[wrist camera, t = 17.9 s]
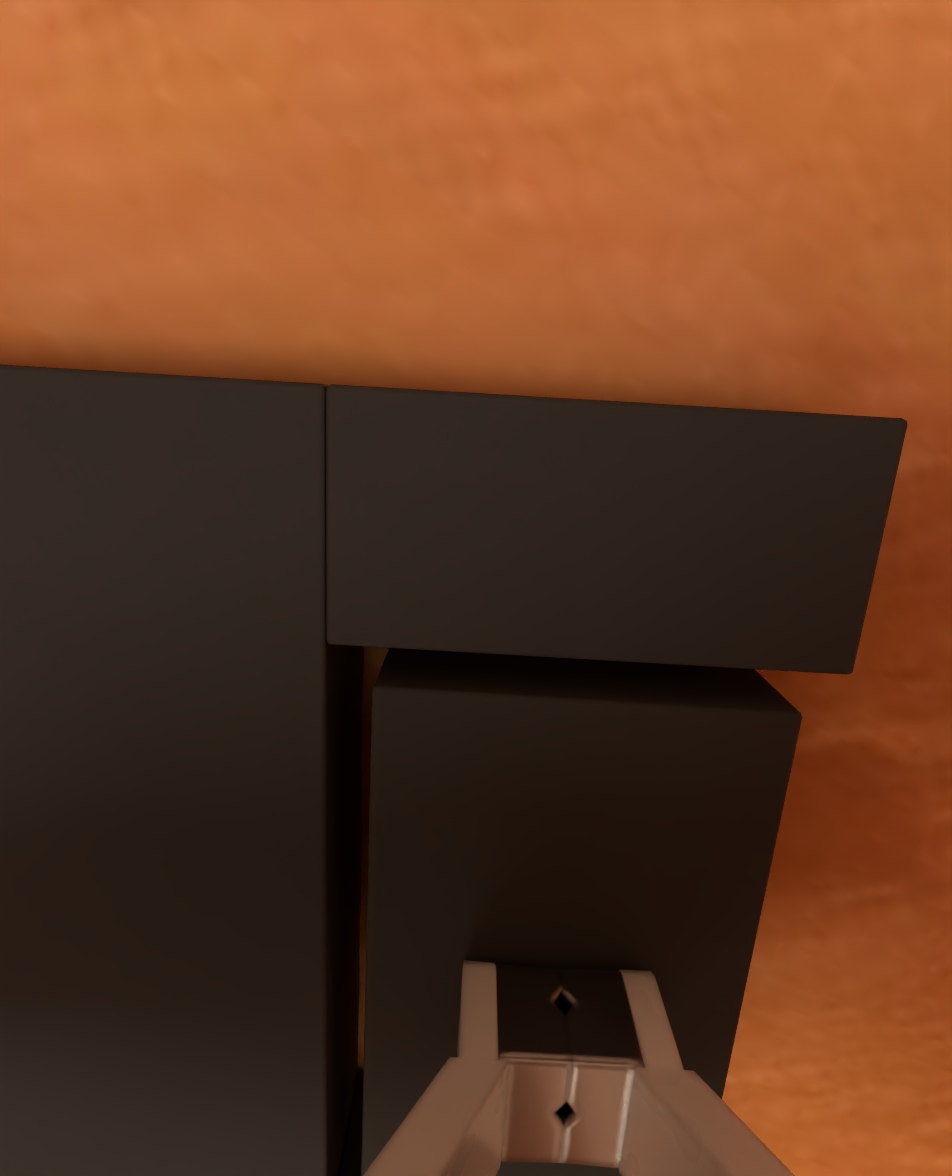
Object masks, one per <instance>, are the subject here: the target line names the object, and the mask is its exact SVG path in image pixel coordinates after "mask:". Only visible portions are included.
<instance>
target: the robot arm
mask: <svg viewBox="0 0 952 1176" xmlns="http://www.w3.org/2000/svg"><path fill="white" fill-rule="evenodd" d="M501 1162H541V1163H566V1164H577V1165H588V1166H599V1167H611V1168H619V1173H620V1174H621V1176H794V1175H793V1173H792V1172H791V1171H790V1170H789V1169H788V1168H787V1167H786V1166H785V1165H784V1164H783V1163H782V1162H781V1161H780V1160H779V1159H778V1158H777V1157H776V1156H775V1155H774V1154H773V1153H772V1152H771V1151H770V1149H769V1148H768V1147H767V1146H766V1145H765V1144H764V1143H763V1142H762V1141H761V1140H760V1139H759V1138H758V1137H757V1136H756V1135H755V1134H754V1133H753V1132H752V1131H751V1130H750V1129H749V1128H748V1127H747V1125H746V1124H745V1123H744V1122H743V1121H742V1120H741V1119H740V1118H739V1117H738V1116H737V1115H736V1114H735V1113H734V1112H733V1111H732V1110H731V1109H730V1108H729V1107H728V1106H727V1105H726V1104H725V1103H724V1101H723V1100H722V1099H721V1098H720V1097H719V1096H718V1095H717V1094H716V1093H715V1092H714V1091H713V1090H712V1089H711V1088H710V1087H709V1086H708V1085H707V1084H706V1083H705V1082H704V1081H703V1080H702V1079H701V1077H700V1076H699V1075H698V1074H697V1073H696V1072H695V1071H690V1070H684V1068H683V1065H682V1062H681V1059H680V1055H679V1052H678V1049H677V1046H676V1042H675V1039H674V1036H673V1033H672V1030H671V1026H670V1023H669V1020H668V1017H667V1014H666V1010H665V1007H664V1004H663V1001H662V998H661V994H660V991H659V988H658V985H657V981H656V978H655V976H654V975H653V973H652V972H651V971H641V970H619V971H618V970H616V969H594V968H572V967H547V966H535V965H523V964H511V963H499V962H496V965H495V963H489V962H478V961H467V960H464V963H463V972H462V987H461V1002H460V1018H459V1033H458V1048H457V1057H449V1059H448V1060H447V1061H446V1063H445V1064H444V1066H443V1067H442V1068H441V1070H440V1071H439V1072H438V1074H437V1075H436V1077H435V1078H434V1079H433V1081H432V1082H431V1083H430V1085H429V1086H428V1088H427V1089H426V1090H425V1092H424V1093H423V1094H422V1096H421V1097H420V1098H419V1100H418V1101H417V1103H416V1104H415V1105H414V1107H413V1108H412V1109H411V1111H410V1112H409V1114H408V1115H407V1116H406V1118H405V1119H404V1120H403V1122H402V1123H401V1125H400V1126H399V1127H398V1129H397V1130H396V1131H395V1133H394V1134H393V1136H392V1137H391V1138H390V1140H389V1141H388V1142H387V1144H386V1145H385V1147H384V1148H383V1149H382V1151H381V1152H380V1153H379V1155H378V1156H377V1157H376V1159H375V1160H374V1162H373V1163H372V1164H371V1166H370V1167H369V1168H368V1170H367V1171H366V1173H365V1174H364V1175H363V1176H496V1174H497V1172H498V1170H499V1168H500V1163H501Z"/></svg>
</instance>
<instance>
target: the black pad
mask: <svg viewBox="0 0 952 1176" xmlns="http://www.w3.org/2000/svg"><path fill="white" fill-rule="evenodd" d="M801 720H802V716H801V713H800V712H799V711H798V710H797V709H796V708H795V707H794V706H792V705H791V704H790V703H789V702H788V701H787V700H786V699H785V698H784V697H783V696H782V695H781V694H780V693H779V692H778V691H777V690H776V689H775V688H774V687H772V686H771V685H770V684H769V683H768V682H767V681H766V680H765V679H764V678H763V677H762V676H761V675H760V674H759V673H758V672H757V671H756V670H755V669H746V668H729V667H711V666H694V665H677V664H660V663H643V662H626V661H609V660H591V659H574V658H557V657H540V656H523V655H506V654H489V653H472V652H454V651H437V650H420V649H403V648H389V650H388V653H387V655H386V657H385V660H384V662H383V665H382V667H381V670H380V672H379V675H378V677H377V679H376V682H375V684H374V687H373V689H372V728H371V771H370V815H369V858H368V901H367V945H366V988H365V1032H364V1075H363V1118H362V1162H361V1176H363V1175H364V1174H365V1173H366V1171H367V1170H368V1168H369V1167H370V1166H371V1164H372V1163H373V1162H374V1160H375V1159H376V1157H377V1156H378V1155H379V1153H380V1152H381V1151H382V1149H383V1148H384V1147H385V1145H386V1144H387V1142H388V1141H389V1140H390V1138H391V1137H392V1136H393V1134H394V1133H395V1131H396V1130H397V1129H398V1127H399V1126H400V1125H401V1123H402V1122H403V1120H404V1119H405V1118H406V1116H407V1115H408V1114H409V1112H410V1111H411V1109H412V1108H413V1107H414V1105H415V1104H416V1103H417V1101H418V1100H419V1098H420V1097H421V1096H422V1094H423V1093H424V1092H425V1090H426V1089H427V1088H428V1086H429V1085H430V1083H431V1082H432V1081H433V1079H434V1078H435V1077H436V1075H437V1074H438V1072H439V1071H440V1070H441V1068H442V1067H443V1066H444V1064H445V1063H446V1061H447V1060H448V1059H449V1057H457V1048H458V1033H459V1018H460V1002H461V987H462V972H463V963H464V960H467V961H478V962H489V963H495V965H496V962H499V963H511V964H523V965H535V966H547V967H572V968H594V969H616V970H618V971H619V970H641V971H651V972H652V973H653V975H654V976H655V978H656V981H657V985H658V988H659V991H660V994H661V998H662V1001H663V1004H664V1007H665V1010H666V1014H667V1017H668V1020H669V1023H670V1026H671V1030H672V1033H673V1036H674V1039H675V1042H676V1046H677V1049H678V1052H679V1055H680V1059H681V1062H682V1065H683V1068H684V1070H690V1071H695V1072H696V1073H697V1074H698V1075H699V1076H700V1077H701V1079H702V1080H703V1081H704V1082H705V1083H706V1084H707V1085H708V1086H709V1087H710V1088H711V1089H712V1090H713V1091H714V1092H715V1093H716V1094H717V1095H718V1096H719V1097H720V1098H721V1099H722V1096H723V1091H724V1087H725V1082H726V1077H727V1072H728V1068H729V1063H730V1058H731V1053H732V1048H733V1044H734V1039H735V1034H736V1029H737V1025H738V1020H739V1015H740V1010H741V1006H742V1001H743V996H744V991H745V987H746V982H747V977H748V972H749V967H750V963H751V958H752V953H753V948H754V944H755V939H756V934H757V929H758V925H759V920H760V915H761V910H762V906H763V901H764V896H765V891H766V886H767V882H768V877H769V872H770V867H771V863H772V858H773V853H774V848H775V844H776V839H777V834H778V829H779V825H780V820H781V815H782V810H783V805H784V801H785V796H786V791H787V786H788V782H789V777H790V772H791V767H792V763H793V758H794V753H795V748H796V743H797V739H798V734H799V729H800V724H801ZM496 1176H621V1174H620V1173H619V1168H611V1167H599V1166H588V1165H577V1164H566V1163H541V1162H501V1163H500V1168H499V1170H498V1172H497V1174H496Z"/></svg>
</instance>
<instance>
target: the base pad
mask: <svg viewBox="0 0 952 1176" xmlns="http://www.w3.org/2000/svg"><path fill="white" fill-rule="evenodd" d="M906 428H907V421H906V420H904V419H902V418H887V417H870V416H853V415H836V414H820V413H803V412H786V411H769V410H752V409H736V408H719V407H702V406H685V405H668V404H652V403H635V402H618V401H601V400H584V399H568V398H551V397H534V396H517V395H500V394H484V393H467V392H450V391H433V390H416V389H400V388H383V387H366V386H349V385H324V384H315V383H298V382H282V381H265V380H248V379H231V378H214V377H198V376H181V375H164V374H147V373H130V372H114V371H97V370H80V369H63V368H46V367H30V366H13V365H0V1176H361V1162H362V1118H363V1075H364V1072H360V1073H359V1074H358V1076H357V1046H358V972H359V898H360V824H361V749H362V675H363V646H369V647H386V648H403V649H420V650H437V651H454V652H472V653H489V654H506V655H523V656H540V657H557V658H574V659H591V660H609V661H626V662H643V663H660V664H677V665H694V666H711V667H729V668H746V669H763V670H780V671H797V672H814V673H831V674H851V673H852V672H853V668H854V664H855V659H856V655H857V650H858V646H859V641H860V637H861V632H862V628H863V623H864V618H865V614H866V609H867V605H868V600H869V596H870V591H871V587H872V582H873V578H874V573H875V569H876V564H877V560H878V555H879V551H880V546H881V542H882V537H883V533H884V528H885V523H886V519H887V514H888V510H889V505H890V501H891V496H892V492H893V487H894V483H895V478H896V474H897V469H898V465H899V460H900V456H901V451H902V447H903V442H904V438H905V433H906Z"/></svg>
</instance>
